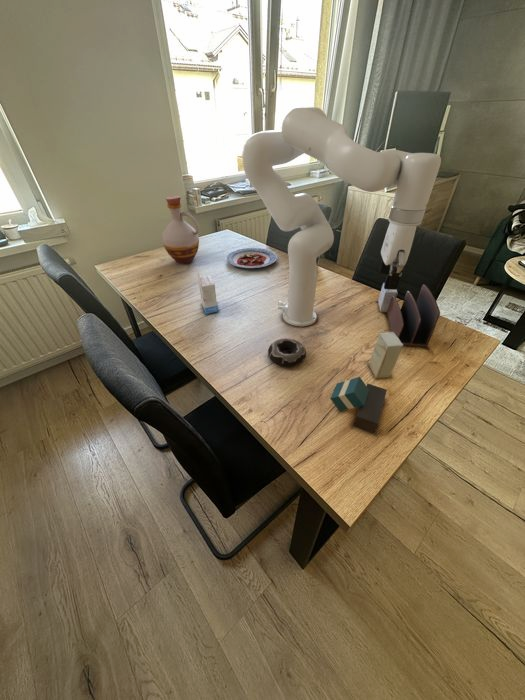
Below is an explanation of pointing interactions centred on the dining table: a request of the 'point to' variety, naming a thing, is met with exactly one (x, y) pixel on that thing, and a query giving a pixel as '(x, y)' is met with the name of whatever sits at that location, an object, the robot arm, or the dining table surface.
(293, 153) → the robot arm
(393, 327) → the letter holder
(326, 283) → the dining table surface
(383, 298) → the medicine box
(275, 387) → the dining table surface
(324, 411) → the dining table surface
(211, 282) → the ink box
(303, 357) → the donut
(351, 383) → the teal carton
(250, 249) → the ceramic plate
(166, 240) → the jug
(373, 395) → the dark block
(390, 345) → the cosmetic box
